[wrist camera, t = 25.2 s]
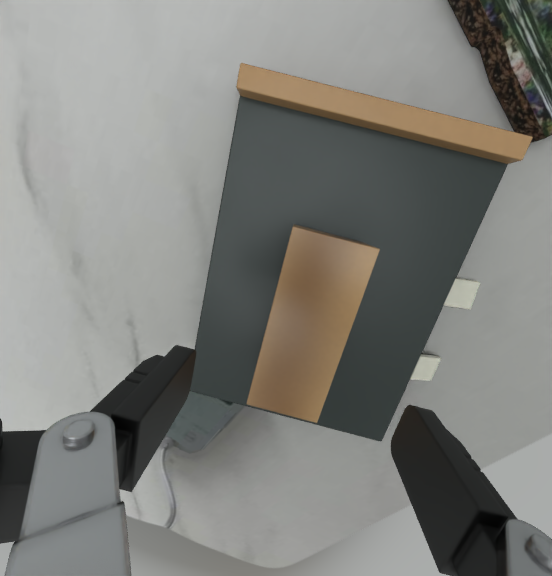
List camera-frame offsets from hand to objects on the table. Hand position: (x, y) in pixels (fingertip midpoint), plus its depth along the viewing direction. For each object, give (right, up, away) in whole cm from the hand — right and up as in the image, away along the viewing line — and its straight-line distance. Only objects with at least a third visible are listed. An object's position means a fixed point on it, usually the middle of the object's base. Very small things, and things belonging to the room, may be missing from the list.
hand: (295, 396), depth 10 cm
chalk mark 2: (+12, +4, +9) cm, 15 cm away
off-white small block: (+10, -2, +10) cm, 14 cm away
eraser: (+1, +3, +9) cm, 9 cm away
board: (+3, +4, +9) cm, 11 cm away
